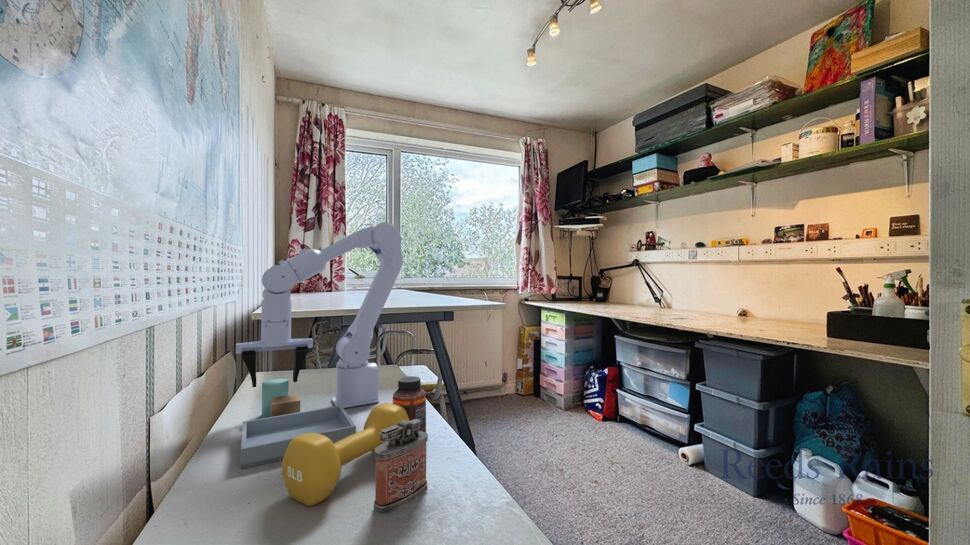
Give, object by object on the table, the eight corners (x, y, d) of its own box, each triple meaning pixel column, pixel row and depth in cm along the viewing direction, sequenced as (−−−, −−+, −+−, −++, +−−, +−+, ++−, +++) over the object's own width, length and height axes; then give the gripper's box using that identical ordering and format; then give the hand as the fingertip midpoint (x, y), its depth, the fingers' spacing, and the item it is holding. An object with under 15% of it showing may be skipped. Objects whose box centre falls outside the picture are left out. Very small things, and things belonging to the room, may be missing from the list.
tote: (341, 419, 77) (341, 405, 77) (355, 443, 66) (355, 426, 66) (242, 438, 68) (243, 421, 68) (240, 469, 57) (240, 449, 57)
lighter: (416, 480, 53) (417, 411, 54) (432, 489, 51) (433, 417, 51) (368, 507, 47) (368, 428, 47) (383, 518, 45) (384, 435, 45)
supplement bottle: (429, 435, 69) (430, 374, 69) (421, 449, 63) (421, 383, 63) (398, 434, 70) (399, 374, 70) (387, 448, 64) (388, 382, 64)
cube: (297, 417, 78) (298, 394, 78) (300, 425, 74) (300, 400, 74) (270, 422, 76) (270, 397, 76) (271, 430, 71) (271, 404, 71)
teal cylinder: (287, 408, 83) (287, 377, 84) (289, 415, 79) (289, 383, 79) (261, 413, 81) (262, 380, 81) (261, 420, 76) (262, 386, 77)
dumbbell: (379, 443, 66) (379, 397, 66) (418, 455, 61) (418, 406, 62) (273, 496, 50) (274, 435, 50) (315, 518, 45) (316, 451, 45)
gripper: (310, 318, 88) (309, 375, 87) (237, 321, 80) (235, 383, 80) (314, 320, 82) (313, 382, 81) (236, 324, 74) (234, 392, 74)
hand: (275, 383), depth 80 cm, fingers open, 7 cm apart
